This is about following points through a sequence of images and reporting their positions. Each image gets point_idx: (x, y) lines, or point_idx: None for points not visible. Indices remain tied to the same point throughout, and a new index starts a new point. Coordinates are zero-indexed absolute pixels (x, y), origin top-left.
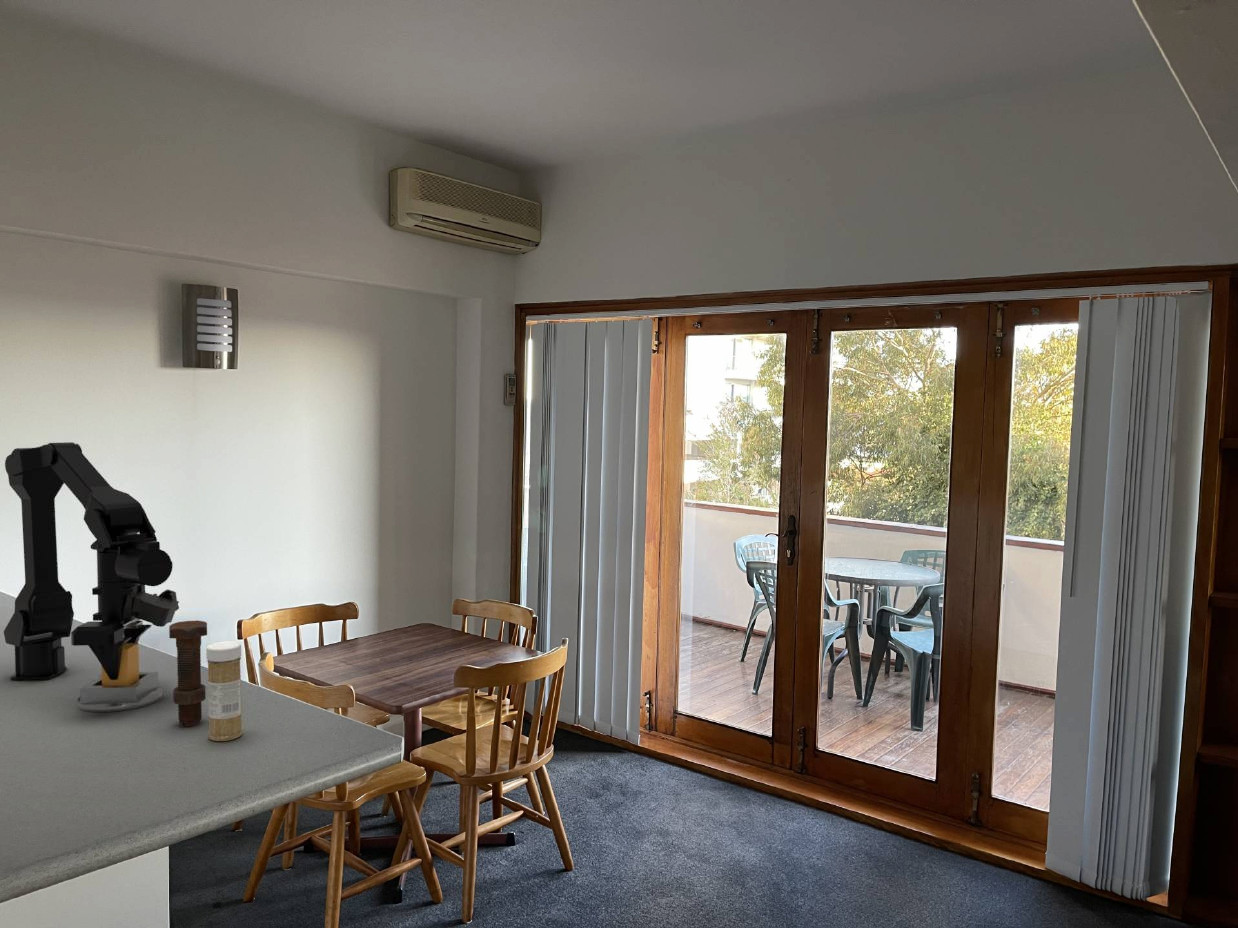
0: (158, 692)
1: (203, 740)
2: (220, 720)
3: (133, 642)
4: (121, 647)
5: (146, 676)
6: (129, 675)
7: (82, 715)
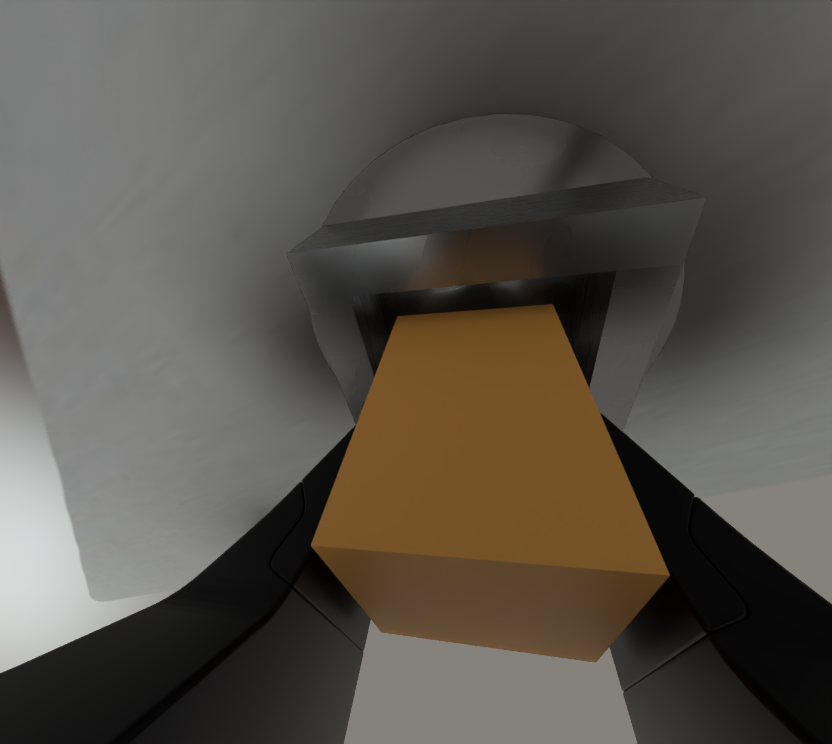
0: (420, 158)
1: None
2: None
3: (310, 570)
4: (801, 676)
5: (396, 277)
6: (542, 342)
7: (677, 369)
